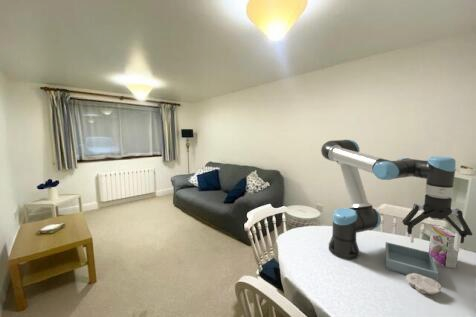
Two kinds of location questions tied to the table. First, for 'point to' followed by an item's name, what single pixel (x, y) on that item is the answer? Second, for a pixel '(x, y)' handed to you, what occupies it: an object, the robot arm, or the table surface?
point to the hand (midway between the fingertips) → (432, 245)
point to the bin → (410, 261)
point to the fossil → (423, 283)
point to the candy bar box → (443, 246)
